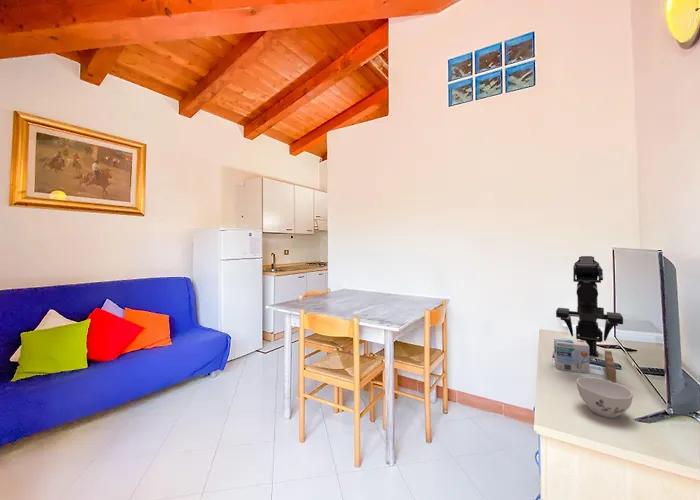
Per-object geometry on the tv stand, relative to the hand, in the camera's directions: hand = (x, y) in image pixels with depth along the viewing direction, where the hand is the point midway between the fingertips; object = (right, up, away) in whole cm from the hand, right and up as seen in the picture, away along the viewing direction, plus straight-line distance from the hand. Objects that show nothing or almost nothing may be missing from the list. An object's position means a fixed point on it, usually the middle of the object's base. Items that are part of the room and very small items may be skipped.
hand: (588, 338), depth 106 cm
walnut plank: (+9, -14, +1) cm, 17 cm away
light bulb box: (0, -15, +9) cm, 17 cm away
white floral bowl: (-12, -16, -20) cm, 28 cm away
